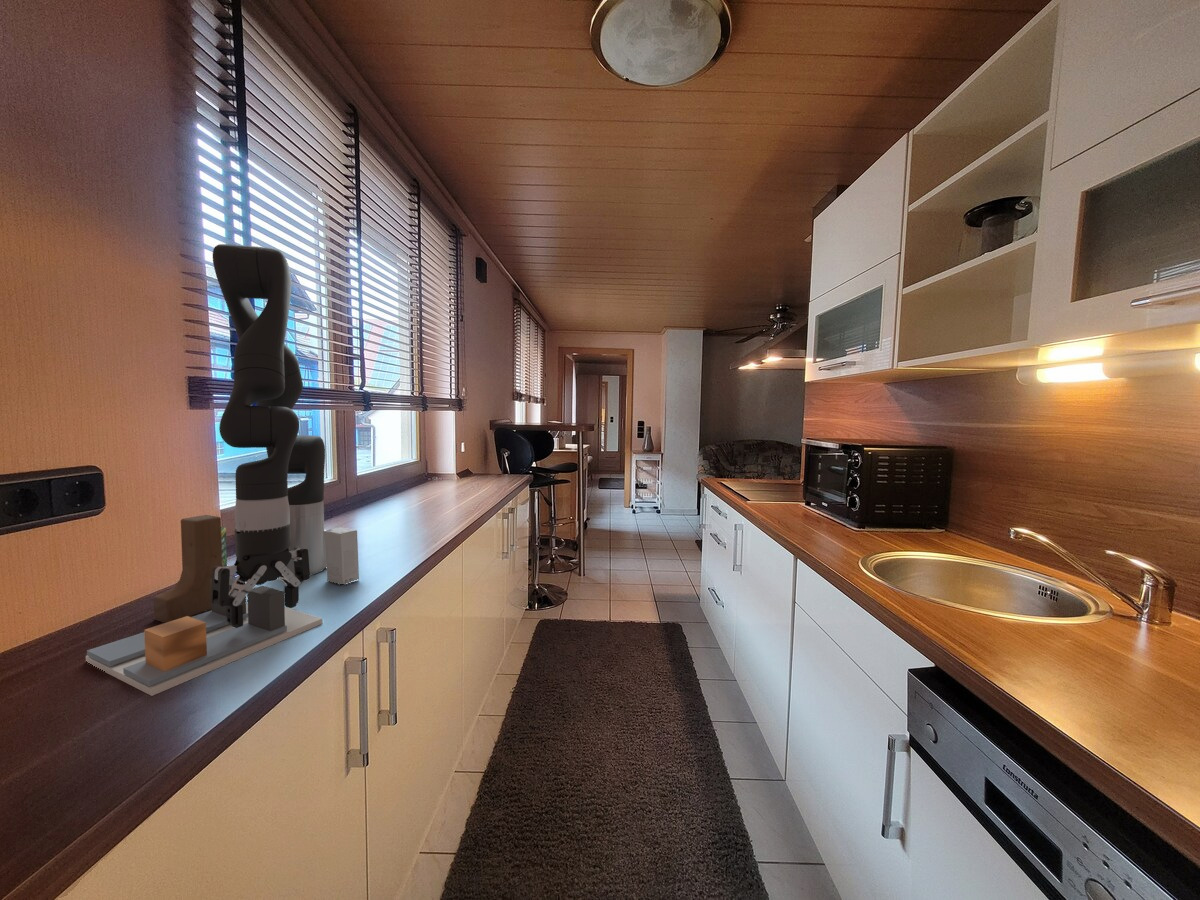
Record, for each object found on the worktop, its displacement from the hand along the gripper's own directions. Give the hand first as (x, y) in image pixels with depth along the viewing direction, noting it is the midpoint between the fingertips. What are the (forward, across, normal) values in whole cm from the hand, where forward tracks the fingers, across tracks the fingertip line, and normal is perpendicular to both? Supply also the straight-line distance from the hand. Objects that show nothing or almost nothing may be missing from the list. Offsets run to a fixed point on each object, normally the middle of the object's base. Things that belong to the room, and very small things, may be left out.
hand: (264, 616), depth 77 cm
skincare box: (+4, -23, -12) cm, 27 cm away
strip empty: (+2, +8, -11) cm, 14 cm away
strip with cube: (+3, +8, 0) cm, 8 cm away
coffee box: (+4, -7, -30) cm, 31 cm away
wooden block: (+4, +1, -22) cm, 22 cm away
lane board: (+4, +4, -6) cm, 8 cm away
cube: (+2, +12, 0) cm, 12 cm away
